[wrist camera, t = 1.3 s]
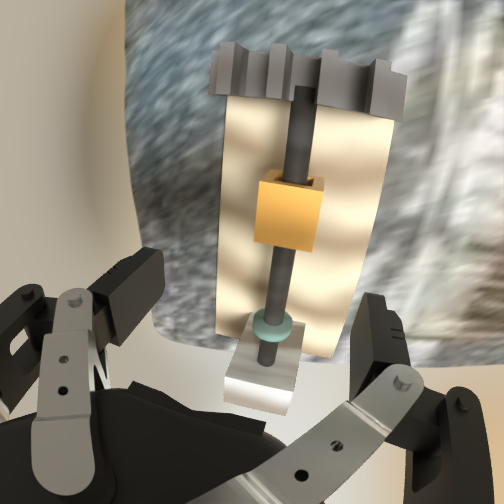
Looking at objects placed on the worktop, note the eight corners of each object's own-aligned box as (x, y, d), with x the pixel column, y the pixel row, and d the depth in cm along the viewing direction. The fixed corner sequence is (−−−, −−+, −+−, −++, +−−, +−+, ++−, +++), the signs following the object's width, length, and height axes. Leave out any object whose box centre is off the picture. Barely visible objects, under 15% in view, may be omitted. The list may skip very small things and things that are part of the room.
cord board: (236, 55, 23) (177, 28, 13) (396, 77, 21) (440, 58, 11) (219, 325, 37) (182, 396, 27) (332, 349, 35) (324, 429, 25)
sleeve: (271, 168, 21) (259, 181, 18) (324, 177, 21) (323, 191, 17) (265, 220, 23) (253, 241, 20) (315, 230, 23) (312, 252, 19)
